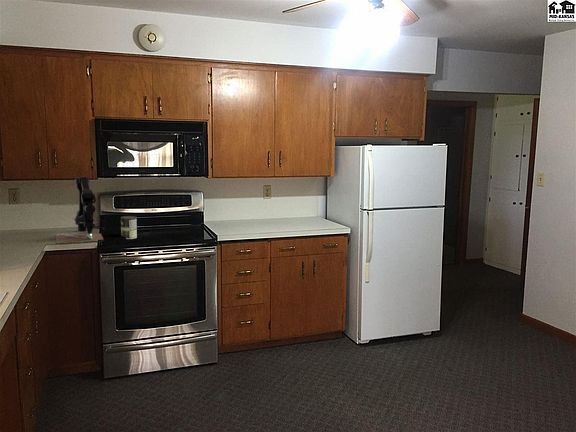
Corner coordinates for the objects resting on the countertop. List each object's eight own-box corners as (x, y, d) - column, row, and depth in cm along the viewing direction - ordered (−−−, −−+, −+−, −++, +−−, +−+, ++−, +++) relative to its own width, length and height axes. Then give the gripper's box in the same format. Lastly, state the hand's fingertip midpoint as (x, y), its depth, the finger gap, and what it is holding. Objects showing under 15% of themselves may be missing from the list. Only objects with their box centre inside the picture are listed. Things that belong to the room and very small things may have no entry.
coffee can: (121, 239, 330) (120, 218, 328) (120, 236, 339) (120, 216, 337) (137, 238, 334) (137, 218, 331) (136, 235, 343) (136, 215, 341)
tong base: (57, 236, 328) (57, 233, 328) (89, 234, 336) (89, 231, 336) (57, 237, 324) (57, 234, 323) (90, 235, 332) (90, 233, 332)
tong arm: (63, 237, 325) (62, 231, 324) (66, 236, 328) (66, 231, 327) (90, 239, 319) (90, 234, 318) (94, 238, 322) (93, 233, 321)
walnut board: (55, 238, 328) (55, 236, 328) (100, 235, 340) (100, 233, 340) (55, 244, 310) (55, 241, 310) (103, 241, 322) (103, 239, 322)
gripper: (74, 210, 325) (75, 233, 328) (75, 214, 309) (76, 239, 311) (92, 209, 330) (93, 232, 333) (94, 213, 313) (95, 237, 316)
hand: (89, 235), depth 323 cm, fingers closed
